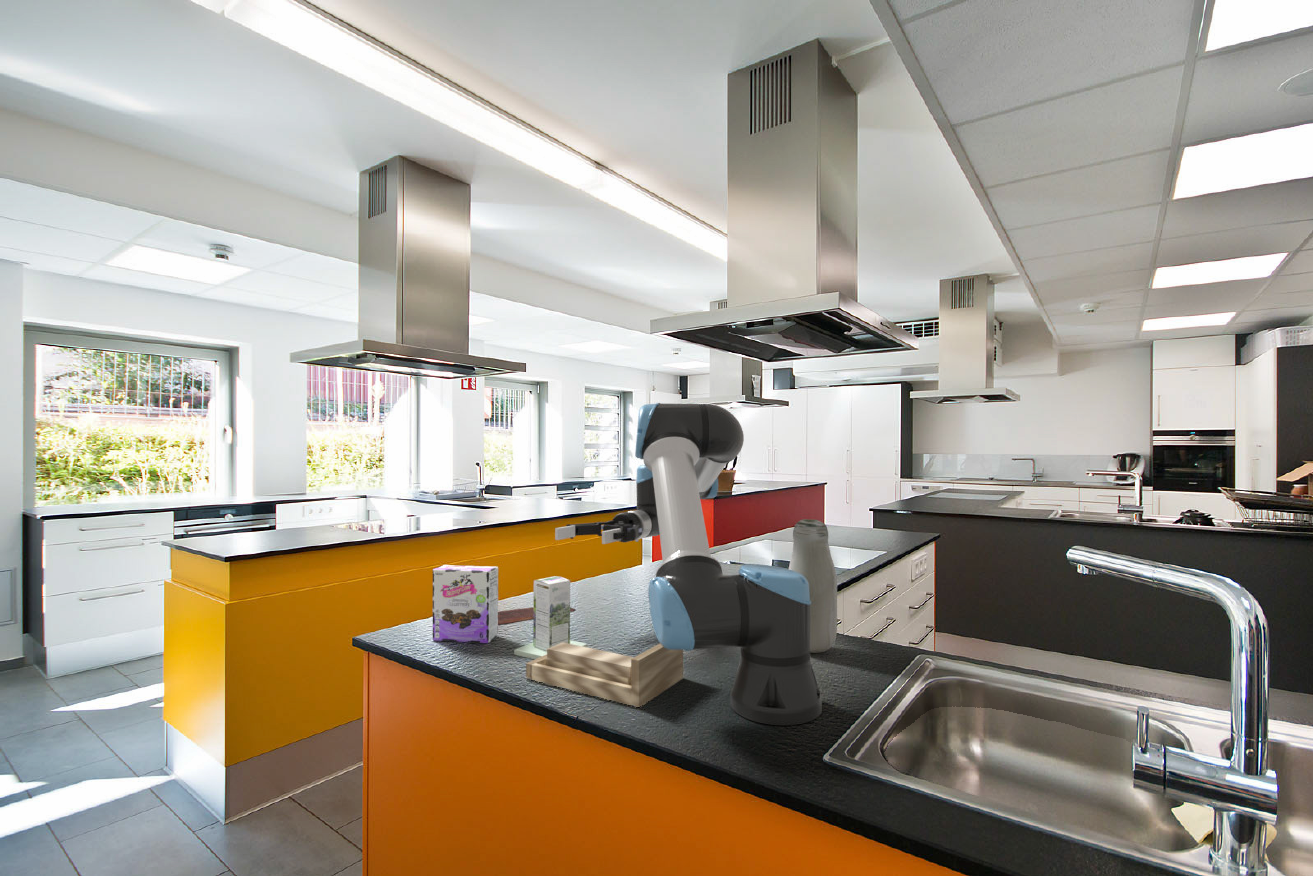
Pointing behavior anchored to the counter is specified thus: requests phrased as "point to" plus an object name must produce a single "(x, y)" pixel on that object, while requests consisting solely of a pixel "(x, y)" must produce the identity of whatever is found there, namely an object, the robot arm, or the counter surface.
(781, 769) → the counter surface
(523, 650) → the sage mat
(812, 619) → the glass bottle
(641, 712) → the counter surface
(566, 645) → the offcut stack
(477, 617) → the candy box
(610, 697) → the birch rack
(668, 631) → the robot arm
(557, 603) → the syrup box
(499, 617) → the wooden tablet
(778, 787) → the counter surface
